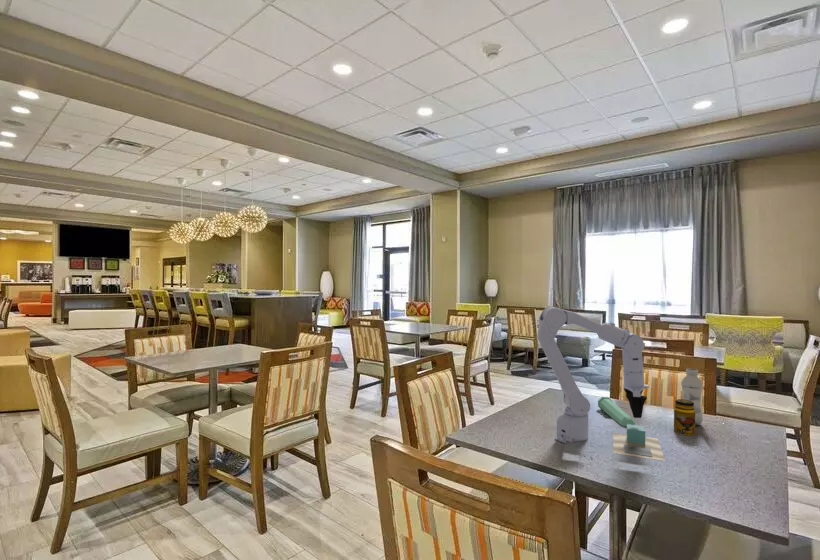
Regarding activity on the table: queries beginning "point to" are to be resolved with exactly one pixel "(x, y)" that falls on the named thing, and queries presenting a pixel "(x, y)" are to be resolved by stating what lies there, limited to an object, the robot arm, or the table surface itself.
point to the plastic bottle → (693, 392)
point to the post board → (637, 447)
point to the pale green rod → (615, 411)
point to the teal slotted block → (635, 434)
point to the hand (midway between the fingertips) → (636, 413)
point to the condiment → (684, 417)
